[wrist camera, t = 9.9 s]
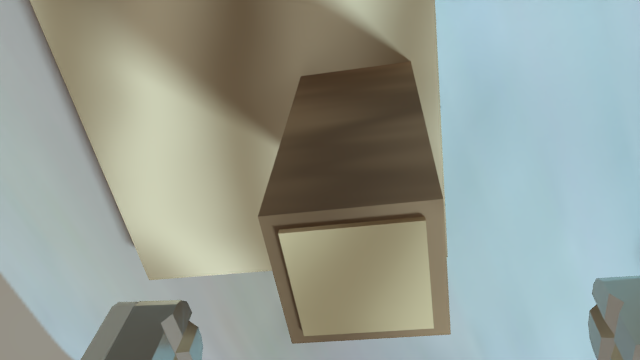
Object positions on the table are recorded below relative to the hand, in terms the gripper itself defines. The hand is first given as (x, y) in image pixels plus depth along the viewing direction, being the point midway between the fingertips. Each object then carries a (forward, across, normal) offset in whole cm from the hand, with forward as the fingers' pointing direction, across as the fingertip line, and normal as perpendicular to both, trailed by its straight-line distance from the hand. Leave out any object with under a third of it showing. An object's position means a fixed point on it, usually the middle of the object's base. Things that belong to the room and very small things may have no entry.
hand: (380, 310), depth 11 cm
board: (+12, +5, +1) cm, 13 cm away
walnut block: (+10, +1, +1) cm, 11 cm away
